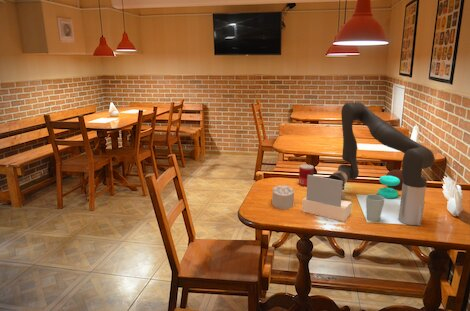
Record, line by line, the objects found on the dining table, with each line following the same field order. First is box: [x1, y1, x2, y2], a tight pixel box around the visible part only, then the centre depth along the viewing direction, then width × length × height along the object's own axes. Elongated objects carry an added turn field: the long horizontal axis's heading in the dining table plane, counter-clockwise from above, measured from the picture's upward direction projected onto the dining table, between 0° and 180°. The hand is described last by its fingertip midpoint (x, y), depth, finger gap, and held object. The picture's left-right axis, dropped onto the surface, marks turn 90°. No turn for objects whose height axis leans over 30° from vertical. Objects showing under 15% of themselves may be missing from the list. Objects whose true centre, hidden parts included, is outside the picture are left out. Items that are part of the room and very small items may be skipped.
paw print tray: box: [271, 184, 295, 210], centre depth 181 cm, size 10×13×9 cm
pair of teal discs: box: [377, 175, 400, 199], centre depth 193 cm, size 10×10×10 cm
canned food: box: [298, 164, 315, 188], centre depth 210 cm, size 8×8×11 cm
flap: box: [305, 174, 343, 207], centre depth 165 cm, size 16×1×12 cm, turn 56°
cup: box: [365, 193, 386, 223], centre depth 164 cm, size 8×8×10 cm
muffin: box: [385, 169, 403, 191], centre depth 205 cm, size 12×11×10 cm
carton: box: [301, 196, 352, 222], centre depth 171 cm, size 20×10×6 cm, turn 56°
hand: (324, 189), depth 166 cm, fingers closed
